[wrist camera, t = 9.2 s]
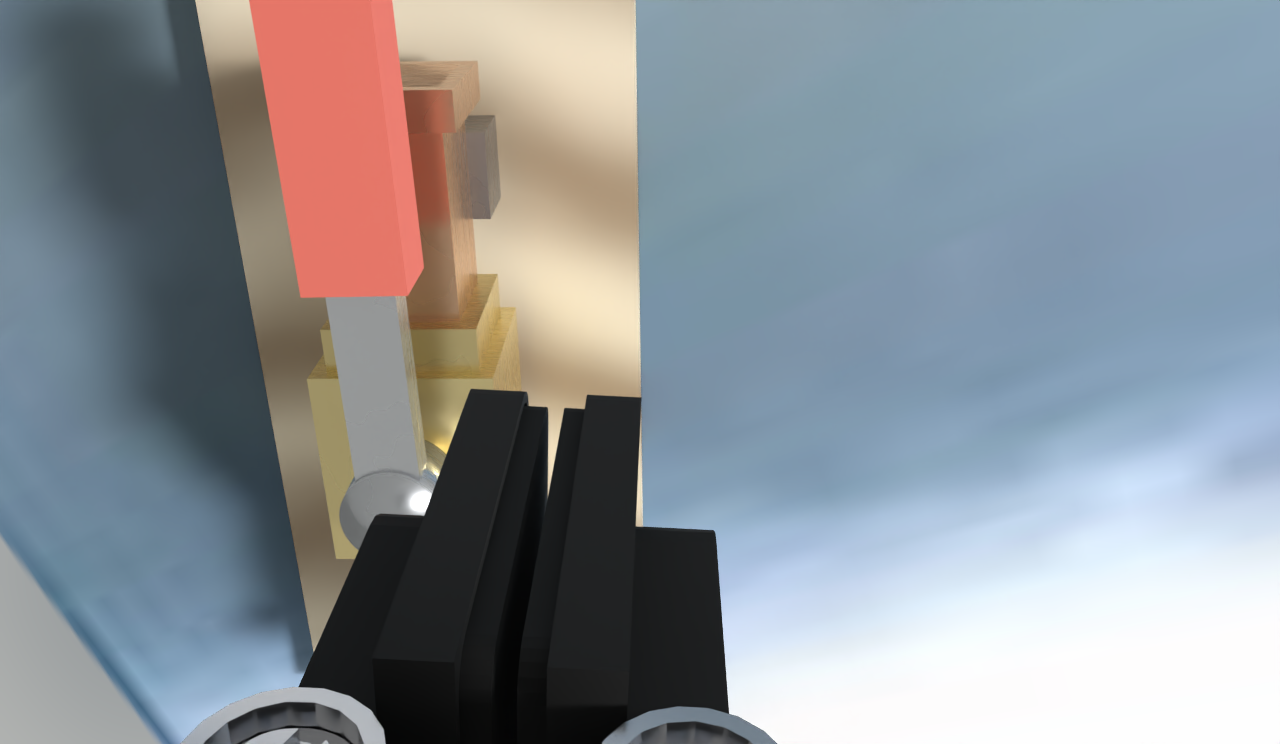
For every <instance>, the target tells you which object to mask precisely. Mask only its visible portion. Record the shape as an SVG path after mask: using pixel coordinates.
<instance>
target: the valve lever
mask: <svg viewBox="0 0 1280 744" xmlns="http://www.w3.org/2000/svg"><path fill="white" fill-rule="evenodd" d="M249 3H250V9H251V15H252V21H253V26H254V32H255V38H256V44H257V49H258V55H259V61H260V67H261V72H262V78H263V84H264V90H265V96H266V101H267V107H268V113H269V119H270V124H271V130H272V136H273V142H274V147H275V153H276V159H277V165H278V170H279V176H280V182H281V188H282V194H283V199H284V205H285V211H286V217H287V222H288V228H289V234H290V240H291V245H292V251H293V257H294V263H295V268H296V274H297V280H298V286H299V291H300V297H301V298H315V297H325V298H326V305H327V311H328V317H329V323H330V329H331V335H332V341H333V348H334V354H335V360H336V366H337V372H338V378H339V384H340V390H341V397H342V403H343V409H344V415H345V421H346V427H347V433H348V440H349V446H350V452H351V458H352V464H353V470H354V477H353V480H352V482H351V484H350V486H349V488H348V490H347V492H346V494H345V496H344V498H343V500H342V502H341V506H340V511H339V518H340V524H341V528H342V530H343V532H344V534H345V536H346V538H347V539H348V540H349V542H350V543H351V544H352V545H353V546H354V547H355V548H356V549H357V550H359V549H360V546H361V544H362V542H363V539H364V537H365V535H366V533H367V530H368V528H369V526H370V524H371V522H372V521H373V519H374V517H375V516H376V515H378V514H380V513H382V514H402V515H421V516H424V515H425V512H426V509H427V506H428V504H429V501H430V498H431V495H432V493H433V490H434V487H435V484H436V482H437V479H438V476H439V473H440V471H441V468H442V465H443V462H444V460H445V457H446V454H445V452H443V451H442V450H441V449H440V448H439V447H437V446H436V445H434V444H433V443H431V442H429V441H427V440H424V434H423V426H422V418H421V410H420V402H419V395H418V387H417V379H416V371H415V363H414V356H413V348H412V340H411V332H410V324H409V317H408V309H407V301H406V296H408V295H409V293H410V291H411V290H412V288H413V286H414V284H415V283H416V281H417V279H418V277H419V276H420V274H421V272H422V270H423V269H424V263H423V255H422V246H421V238H420V229H419V221H418V213H417V204H416V196H415V187H414V179H413V171H412V162H411V154H410V145H409V137H408V129H407V120H406V112H405V103H404V95H403V87H402V78H401V70H400V61H399V53H398V45H397V36H396V28H395V19H394V11H393V3H392V0H249Z"/></svg>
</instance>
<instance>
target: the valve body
mask: <svg viewBox="0 0 1280 744" xmlns="http://www.w3.org/2000/svg"><path fill="white" fill-rule="evenodd" d="M400 70H401V78H402V87H403V95H404V103H405V112H406V120H407V129H408V137H409V145H410V154H411V162H412V171H413V179H414V187H415V196H416V204H417V213H418V221H419V229H420V238H421V246H422V255H423V263H424V269H423V270H422V272H421V274H420V276H419V277H418V279H417V281H416V283H415V284H414V286H413V288H412V290H411V291H410V293H409V295H408V296H406V301H407V309H408V317H409V324H410V332H411V340H412V348H413V356H414V363H415V371H416V379H417V387H418V395H419V402H420V410H421V418H422V426H423V434H424V440H427V441H429V442H431V443H433V444H434V445H436V446H437V447H439V448H440V449H441V450H442V451H443V452H445V454H447V451H448V449H449V446H450V443H451V441H452V438H453V435H454V432H455V430H456V427H457V424H458V421H459V419H460V416H461V413H462V410H463V408H464V405H465V402H466V399H467V397H468V394H469V392H470V390H471V389H486V390H505V391H522V389H521V374H520V359H519V345H518V330H517V315H516V307H500V297H499V283H498V274H477V265H476V252H475V240H474V228H473V219H491V217H492V215H493V213H494V211H495V209H496V207H497V205H498V202H499V200H500V198H501V189H500V175H499V161H498V147H497V132H496V118H495V115H469V114H470V113H471V111H472V110H473V109H474V107H475V106H476V105H477V103H478V102H479V101H480V86H479V73H478V61H401V62H400ZM320 332H321V339H322V345H323V352H324V354H323V356H322V357H321V359H320V360H319V362H318V363H317V365H316V366H315V368H314V369H313V371H312V372H311V374H310V375H309V376H308V378H307V383H308V389H309V396H310V402H311V408H312V414H313V420H314V426H315V432H316V439H317V445H318V451H319V457H320V463H321V469H322V476H323V482H324V488H325V494H326V500H327V506H328V512H329V519H330V525H331V531H332V537H333V543H334V549H335V555H336V559H355V558H356V555H357V553H358V551H359V550H357V549H356V548H355V547H354V546H353V545H352V544H351V543H350V542H349V540H348V539H347V538H346V536H345V534H344V532H343V530H342V528H341V524H340V518H339V511H340V506H341V502H342V500H343V498H344V496H345V494H346V492H347V490H348V488H349V486H350V484H351V482H352V480H353V477H354V470H353V464H352V458H351V452H350V446H349V440H348V433H347V427H346V421H345V415H344V409H343V403H342V397H341V390H340V384H339V378H338V372H337V366H336V360H335V354H334V348H333V341H332V335H331V329H330V323H329V318H328V320H327V321H326V322H325V324H324V325H323V327H322V328H321V329H320Z"/></svg>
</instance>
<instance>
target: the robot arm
mask: <svg viewBox="0 0 1280 744" xmlns="http://www.w3.org/2000/svg"><path fill="white" fill-rule="evenodd" d="M640 419H641V397H623V396H604V395H587V397H586V403H585V409H577V408H564V412H563V418H562V423H561V428H560V434H559V439H558V445H557V450H556V456H555V461H554V467H553V472H552V478H551V483H550V489H549V494H548V425H549V422H548V407H538V406H529V401H528V394H527V392H525V391H505V390H486V389H471V390H470V392H469V394H468V397H467V399H466V402H465V405H464V408H463V410H462V413H461V416H460V419H459V421H458V424H457V427H456V430H455V432H454V435H453V438H452V441H451V443H450V446H449V449H448V451H447V454H446V457H445V460H444V462H443V465H442V468H441V471H440V473H439V476H438V479H437V482H436V484H435V487H434V490H433V493H432V495H431V498H430V501H429V504H428V506H427V509H426V512H425V515H424V516H421V515H402V514H382V513H380V514H378V515H376V516H375V517H374V519H373V521H372V522H371V524H370V526H369V528H368V530H367V533H366V535H365V537H364V539H363V542H362V544H361V546H360V549H359V551H358V553H357V555H356V558H355V560H354V562H353V564H352V567H351V569H350V571H349V574H348V576H347V578H346V580H345V583H344V585H343V587H342V589H341V592H340V594H339V596H338V599H337V601H336V603H335V605H334V608H333V610H332V612H331V614H330V617H329V619H328V621H327V624H326V626H325V628H324V630H323V633H322V635H321V637H320V639H319V642H318V644H317V646H316V649H315V651H314V653H313V655H312V658H311V660H310V662H309V664H308V667H307V669H306V671H305V673H304V676H303V678H302V680H301V683H300V685H299V687H291V688H285V689H279V690H272V691H266V692H261V693H258V694H255V695H253V696H250V697H247V698H245V699H242V700H239V701H237V702H234V703H231V704H229V705H228V706H226V707H224V708H223V709H221V710H220V711H218V712H216V713H215V714H213V715H212V716H210V717H208V718H207V719H205V720H203V721H202V722H201V723H200V724H199V725H198V726H197V727H196V728H195V729H194V730H193V731H192V732H191V733H190V734H189V735H188V736H187V737H186V738H185V739H184V740H183V741H182V742H181V743H180V744H777V743H776V742H775V741H774V740H773V739H772V738H771V737H770V736H769V735H768V734H767V733H765V732H764V731H763V730H761V729H759V728H758V727H756V726H754V725H752V724H750V723H749V722H747V721H745V720H743V719H741V718H740V717H738V716H734V715H731V714H729V708H728V695H727V681H726V667H725V654H724V640H723V627H722V613H721V599H720V586H719V572H718V559H717V545H716V536H715V532H714V530H697V529H678V528H658V527H638V526H636V509H637V486H638V464H639V441H640Z"/></svg>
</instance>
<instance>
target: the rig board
mask: <svg viewBox="0 0 1280 744" xmlns="http://www.w3.org/2000/svg"><path fill="white" fill-rule="evenodd" d="M195 2H196V7H197V13H198V18H199V24H200V29H201V35H202V40H203V46H204V51H205V57H206V62H207V68H208V73H209V79H210V84H211V90H212V95H213V101H214V106H215V112H216V117H217V123H218V128H219V134H220V139H221V145H222V150H223V156H224V161H225V167H226V172H227V178H228V183H229V189H230V194H231V200H232V205H233V211H234V216H235V222H236V227H237V233H238V238H239V244H240V249H241V255H242V260H243V266H244V271H245V277H246V282H247V288H248V293H249V299H250V304H251V310H252V315H253V321H254V326H255V332H256V337H257V343H258V348H259V354H260V359H261V365H262V371H263V376H264V382H265V387H266V393H267V398H268V404H269V409H270V415H271V420H272V426H273V431H274V437H275V442H276V448H277V453H278V459H279V464H280V470H281V475H282V481H283V486H284V492H285V497H286V503H287V508H288V514H289V519H290V525H291V530H292V536H293V541H294V547H295V552H296V558H297V563H298V569H299V574H300V580H301V585H302V591H303V596H304V602H305V607H306V613H307V618H308V624H309V629H310V635H311V640H312V646H313V651H315V649H316V646H317V644H318V642H319V639H320V637H321V635H322V633H323V630H324V628H325V626H326V624H327V621H328V619H329V617H330V614H331V612H332V610H333V608H334V605H335V603H336V601H337V599H338V596H339V594H340V592H341V589H342V587H343V585H344V583H345V580H346V578H347V576H348V574H349V571H350V569H351V567H352V564H353V562H354V560H355V559H336V555H335V549H334V543H333V537H332V531H331V525H330V519H329V512H328V506H327V500H326V494H325V488H324V482H323V476H322V469H321V463H320V457H319V451H318V445H317V439H316V432H315V426H314V420H313V414H312V408H311V402H310V396H309V389H308V383H307V378H308V376H309V375H310V374H311V372H312V371H313V369H314V368H315V366H316V365H317V363H318V362H319V360H320V359H321V357H322V356H323V354H324V352H323V345H322V339H321V332H320V329H321V328H322V327H323V325H324V324H325V322H326V321H327V320H328V318H329V317H328V311H327V305H326V298H325V297H315V298H301V297H300V291H299V286H298V280H297V274H296V268H295V263H294V257H293V251H292V245H291V240H290V234H289V228H288V222H287V217H286V211H285V205H284V199H283V194H282V188H281V182H280V176H279V170H278V165H277V159H276V153H275V147H274V142H273V136H272V130H271V124H270V119H269V113H268V107H267V101H266V96H265V90H264V84H263V78H262V72H261V67H260V61H259V55H258V49H257V44H256V38H255V32H254V26H253V21H252V15H251V9H250V3H249V0H195ZM392 3H393V11H394V19H395V28H396V36H397V45H398V53H399V61H400V62H401V61H478V73H479V86H480V101H479V102H478V103H477V105H476V106H475V107H474V109H473V110H472V111H471V113H470V114H469V115H495V118H496V132H497V147H498V161H499V175H500V189H501V198H500V200H499V202H498V205H497V207H496V209H495V211H494V213H493V215H492V217H491V219H473V228H474V240H475V252H476V265H477V274H498V283H499V297H500V307H516V315H517V330H518V345H519V359H520V374H521V389H522V391H525V392H527V394H528V401H529V406H538V407H548V422H549V425H548V494H549V489H550V483H551V478H552V472H553V467H554V461H555V456H556V450H557V445H558V439H559V434H560V428H561V423H562V418H563V412H564V408H577V409H585V403H586V397H587V395H604V396H623V397H641V357H640V286H639V215H638V144H637V72H636V1H635V0H392ZM636 526H638V527H643V500H642V429H641V419H640V441H639V464H638V486H637V509H636Z"/></svg>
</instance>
